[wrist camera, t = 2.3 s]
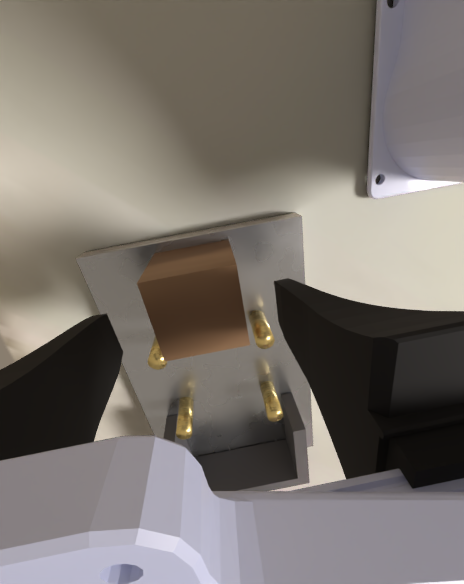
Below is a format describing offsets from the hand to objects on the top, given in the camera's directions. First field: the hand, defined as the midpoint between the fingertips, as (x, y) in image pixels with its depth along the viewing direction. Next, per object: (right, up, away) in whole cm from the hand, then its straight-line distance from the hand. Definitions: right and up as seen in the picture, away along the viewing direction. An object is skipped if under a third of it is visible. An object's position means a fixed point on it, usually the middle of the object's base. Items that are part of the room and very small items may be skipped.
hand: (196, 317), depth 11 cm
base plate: (+1, -4, +8) cm, 9 cm away
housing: (+2, -10, +9) cm, 13 cm away
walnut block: (0, +2, +4) cm, 4 cm away
